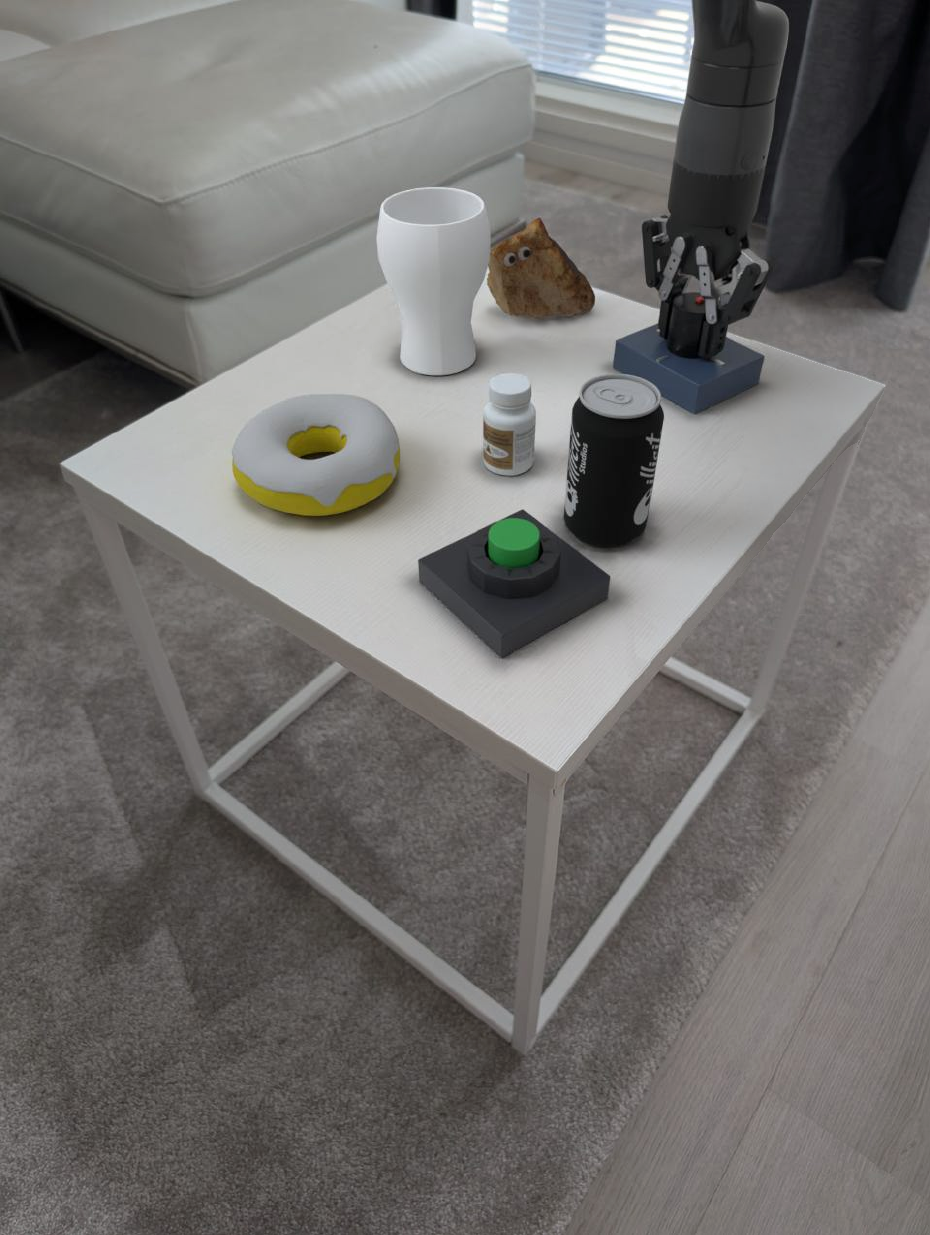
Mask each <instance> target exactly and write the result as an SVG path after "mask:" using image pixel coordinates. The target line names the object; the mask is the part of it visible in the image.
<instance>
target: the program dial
mask: <svg viewBox="0 0 930 1235" xmlns="http://www.w3.org/2000/svg"><path fill="white" fill-rule="evenodd" d="M719 307H720V299H719ZM704 321H706V310H705V299H704V298H703V297H701V294H700V292H698V291H692V292H691V291H689V292H684V293H683V294H680V295H678V296H676V297H675V298H674V300H673V305H672V312H671V318H670V325H669V331H668V338H667V344H666V346H667V349H668V350H669V351H670V352H671V353H673V354H675V355H677V356H680V357H685V358H700V357H699V356H698V352H699V347H700V341H701V336H702V330H703V324H704Z"/></svg>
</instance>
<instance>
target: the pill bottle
mask: <svg viewBox="0 0 930 1235" xmlns="http://www.w3.org/2000/svg"><path fill="white" fill-rule="evenodd" d="M488 397H489V398H488V399H489V401H487V403H486V404H485V406H484V408H483V413H482V418H483V419H482V424H483V425H482V427H483V428H482V429H483V430H482V443H483V444H482V446H483V449H482V450H483V451H482V453H483V454H482V455H483V458H482V459H483V464H484V466H485V468H487V469H488V470H489V471H490V472H493V473H495V474H497V475H501V476H511V477H512V476H517V475H521V474H523V473H525V472H527V471H528V470H530V469H531V468H532V467H533V464H534V462H535V461H534V460H535V445H536V444H535V443H536V421H537V410H536V407H535V405H534V404H533V403H532V402H531V399H532V382H531V379H529V378H528V377H527V376H525V375H523V374H520V373H513V372H506V373H501V374H498V375H495V376H493V377H492V378H491V379H490V380H489V383H488Z"/></svg>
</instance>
